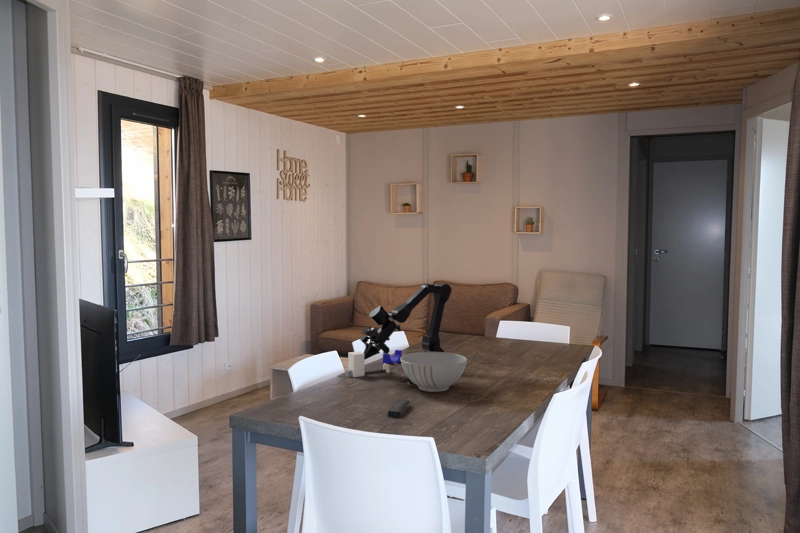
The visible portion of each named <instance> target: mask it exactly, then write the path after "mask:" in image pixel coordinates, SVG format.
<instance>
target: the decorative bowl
mask: <svg viewBox="0 0 800 533" xmlns="http://www.w3.org/2000/svg"><path fill="white" fill-rule="evenodd" d="M400 361H401V363H400V364H401V367H402V369H403V372H404V373H405V375H406V377H407V378H408V380H410V381H411V382H412V383H413V384H414V385H416V386H417V388H418V389H419V390H420V391H424V392H431V393H432V392H435V393H436V392H437V393H439V392H446V391H447V390H449V388H450V386H452V385H453V384H455V383H456V382H457V381H458V380H459V378H461V376H462V374H464V372H465V369H466V367H467V363H468V358H467V357H466V356H465V355H461V354H459V353H453V352H446V351H444V352H425V351H419V352H412V353H411V352H410V353H406V354H405V355H403V354H402V357H401V358H400Z"/></svg>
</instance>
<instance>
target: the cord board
mask: <svg viewBox="0 0 800 533" xmlns="http://www.w3.org/2000/svg"><path fill="white" fill-rule="evenodd" d="M380 373H381V374H382V373H386V374H389V373H391V371H390V364H386V363H382V369H377V370H370V371H369V370H368V371H364V376H365V375H370V374H371V375H372V374H380ZM344 376H345V377H347V378H349V377H350V378H351V377H352V371H351V370H348V369H345V372H344Z"/></svg>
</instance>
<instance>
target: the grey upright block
mask: <svg viewBox="0 0 800 533" xmlns="http://www.w3.org/2000/svg"><path fill="white" fill-rule="evenodd" d="M347 353H348V356H347V358H348V359H347V361H348V362H347V366H348V367H347V370H351V371H352V377H353V378H356V377H357V378H358V377H365V375H364V372H365V360H364V352H361V351H359V350H358V351H352V352H351V351H350V352H347Z"/></svg>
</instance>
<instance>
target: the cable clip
mask: <svg viewBox="0 0 800 533" xmlns="http://www.w3.org/2000/svg"><path fill="white" fill-rule="evenodd" d="M402 356H403V350H402V349H395V350H394V355H391V353H388V354H387V355H386V354H384V353H382V364H384V363H386V364H387V365H390V364H393V363H395V364H397V363H399V364H401V363H400V362H401V361H400V358H401V357H402Z"/></svg>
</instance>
